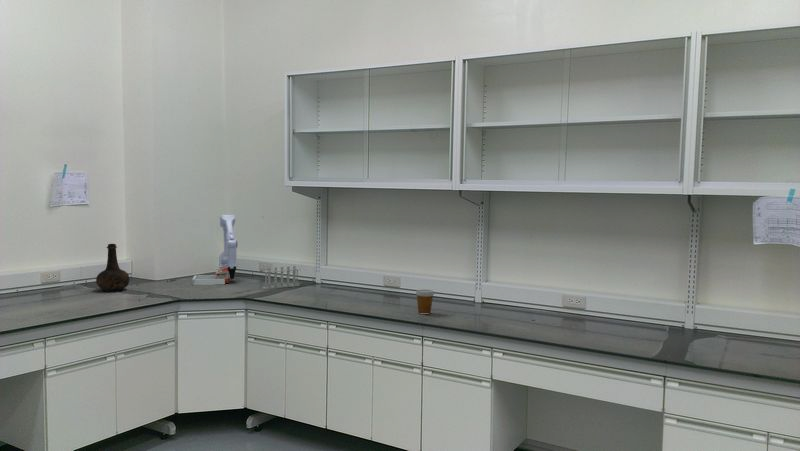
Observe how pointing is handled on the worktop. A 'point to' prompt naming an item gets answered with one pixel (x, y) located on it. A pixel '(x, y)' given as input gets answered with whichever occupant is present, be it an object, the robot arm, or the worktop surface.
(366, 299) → the worktop surface
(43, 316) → the worktop surface
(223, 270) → the medicine box
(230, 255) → the robot arm
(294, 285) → the test tube rack
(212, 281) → the bin
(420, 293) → the disposable coffee cup
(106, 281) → the glass bottle
